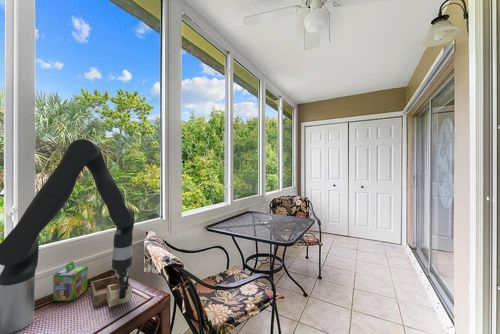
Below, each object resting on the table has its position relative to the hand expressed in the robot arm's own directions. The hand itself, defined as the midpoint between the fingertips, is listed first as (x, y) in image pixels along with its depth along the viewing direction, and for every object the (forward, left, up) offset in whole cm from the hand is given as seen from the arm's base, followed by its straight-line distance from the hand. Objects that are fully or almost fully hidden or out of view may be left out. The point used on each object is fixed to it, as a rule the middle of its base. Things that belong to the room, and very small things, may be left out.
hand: (120, 294), depth 93 cm
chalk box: (-16, +22, -5) cm, 27 cm away
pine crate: (-1, 0, -2) cm, 2 cm away
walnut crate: (-3, +12, -5) cm, 13 cm away
